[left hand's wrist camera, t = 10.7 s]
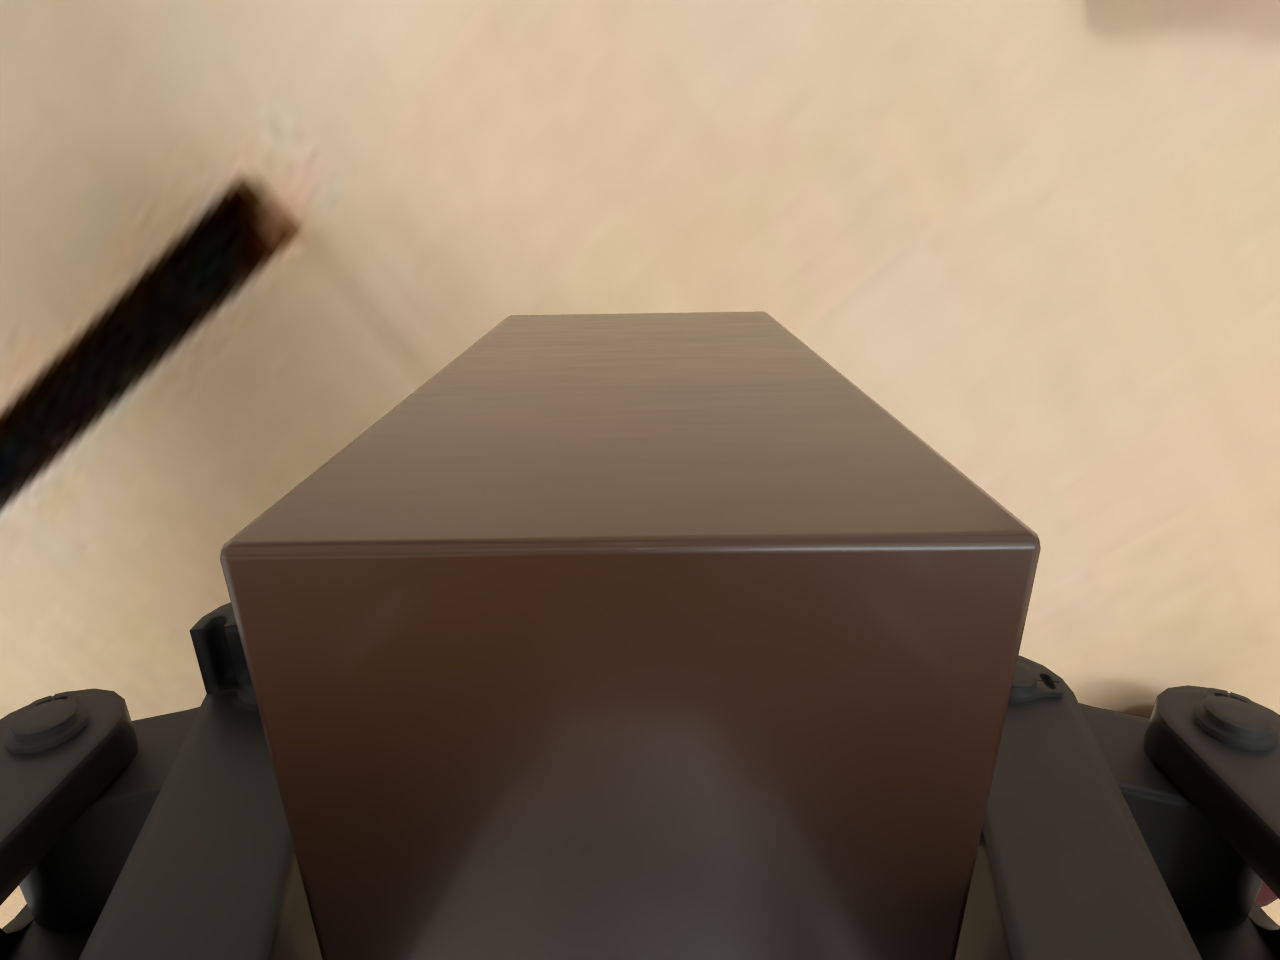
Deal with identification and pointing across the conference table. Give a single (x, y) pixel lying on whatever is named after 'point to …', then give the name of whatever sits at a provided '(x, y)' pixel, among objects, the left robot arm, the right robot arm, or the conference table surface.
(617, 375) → the beam
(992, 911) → the left robot arm
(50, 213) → the conference table surface
